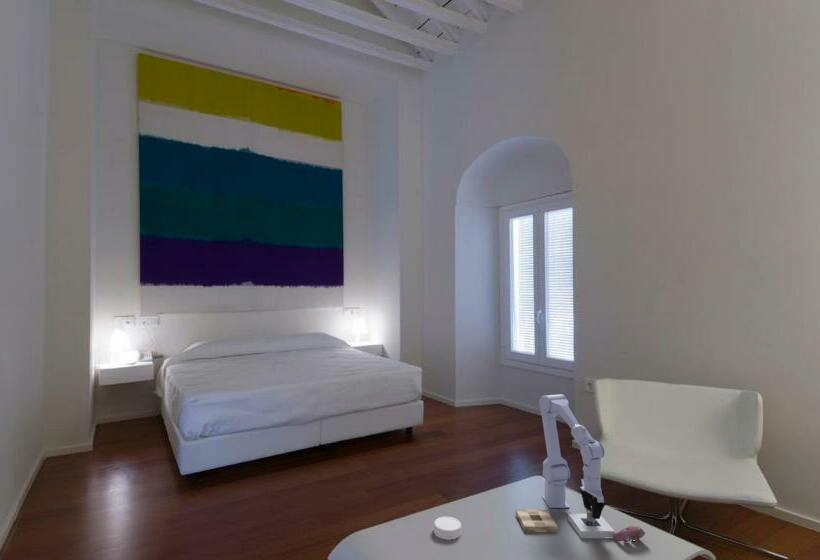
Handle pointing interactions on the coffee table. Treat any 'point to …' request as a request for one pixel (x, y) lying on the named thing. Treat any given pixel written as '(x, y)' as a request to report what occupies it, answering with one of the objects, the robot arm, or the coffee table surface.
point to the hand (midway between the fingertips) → (591, 512)
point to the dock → (590, 527)
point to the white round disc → (447, 528)
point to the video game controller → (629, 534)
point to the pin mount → (536, 526)
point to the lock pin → (590, 517)
